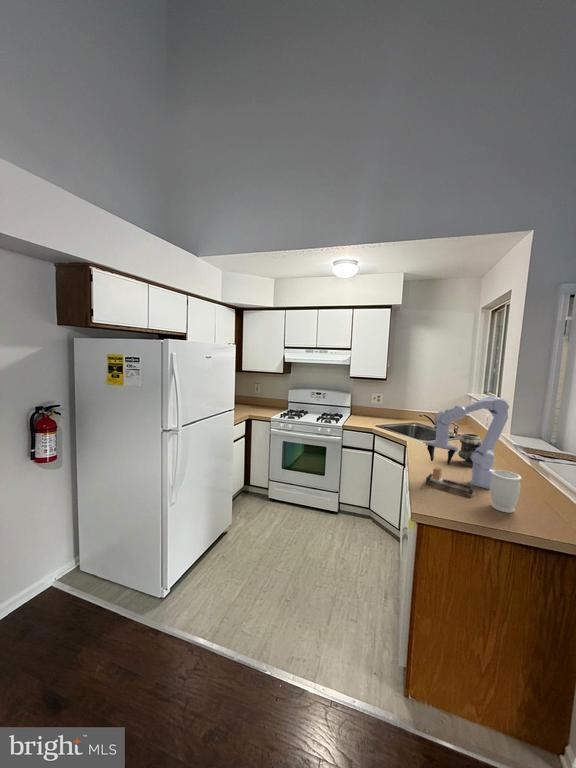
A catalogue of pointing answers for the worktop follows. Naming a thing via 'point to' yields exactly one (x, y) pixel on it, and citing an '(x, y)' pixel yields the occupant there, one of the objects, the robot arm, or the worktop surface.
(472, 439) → the apothecary jar
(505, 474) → the jar
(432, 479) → the block
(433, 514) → the worktop surface
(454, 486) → the rail board
